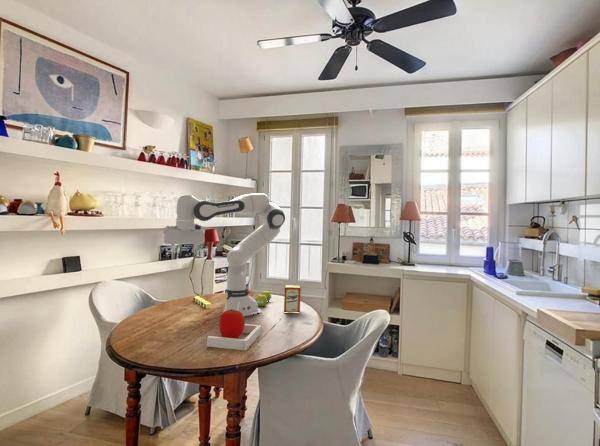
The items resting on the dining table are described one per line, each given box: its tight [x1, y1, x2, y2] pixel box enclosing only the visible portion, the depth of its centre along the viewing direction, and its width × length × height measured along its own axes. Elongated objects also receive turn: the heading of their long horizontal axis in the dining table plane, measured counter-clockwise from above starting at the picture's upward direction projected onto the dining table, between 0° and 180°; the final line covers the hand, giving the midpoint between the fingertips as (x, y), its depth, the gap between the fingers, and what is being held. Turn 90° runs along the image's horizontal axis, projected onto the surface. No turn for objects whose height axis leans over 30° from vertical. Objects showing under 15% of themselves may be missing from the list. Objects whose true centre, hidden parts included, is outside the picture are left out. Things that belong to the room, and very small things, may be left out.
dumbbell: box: [255, 290, 272, 307], centre depth 220 cm, size 16×8×7 cm, turn 172°
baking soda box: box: [283, 284, 301, 313], centre depth 202 cm, size 10×6×16 cm
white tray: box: [206, 323, 262, 351], centre depth 152 cm, size 18×22×4 cm
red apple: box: [218, 309, 246, 339], centre depth 152 cm, size 13×11×14 cm
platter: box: [193, 295, 212, 310], centre depth 211 cm, size 32×32×3 cm
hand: (184, 252), depth 173 cm, fingers open, 8 cm apart
